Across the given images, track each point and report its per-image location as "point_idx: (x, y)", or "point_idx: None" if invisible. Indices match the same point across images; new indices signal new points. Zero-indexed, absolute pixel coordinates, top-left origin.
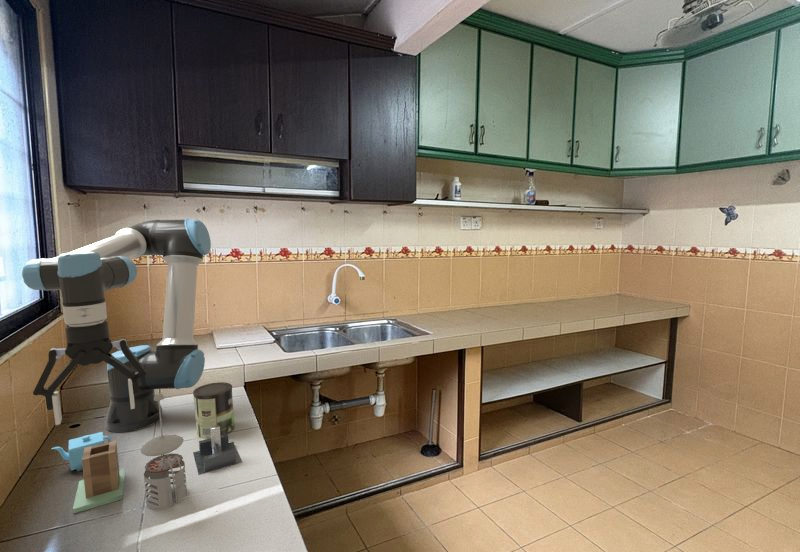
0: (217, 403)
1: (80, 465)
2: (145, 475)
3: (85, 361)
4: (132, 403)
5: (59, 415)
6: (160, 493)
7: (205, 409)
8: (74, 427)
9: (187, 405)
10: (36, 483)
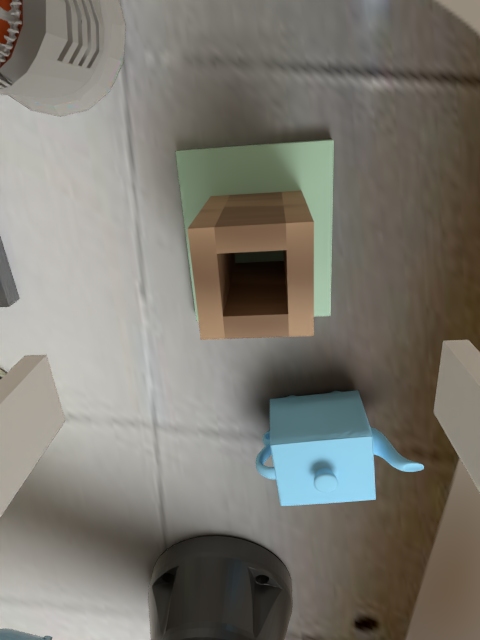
0: None
1: (334, 397)
2: (56, 26)
3: None
4: (13, 376)
5: (463, 389)
6: None
7: None
8: (367, 617)
9: (95, 602)
10: None
